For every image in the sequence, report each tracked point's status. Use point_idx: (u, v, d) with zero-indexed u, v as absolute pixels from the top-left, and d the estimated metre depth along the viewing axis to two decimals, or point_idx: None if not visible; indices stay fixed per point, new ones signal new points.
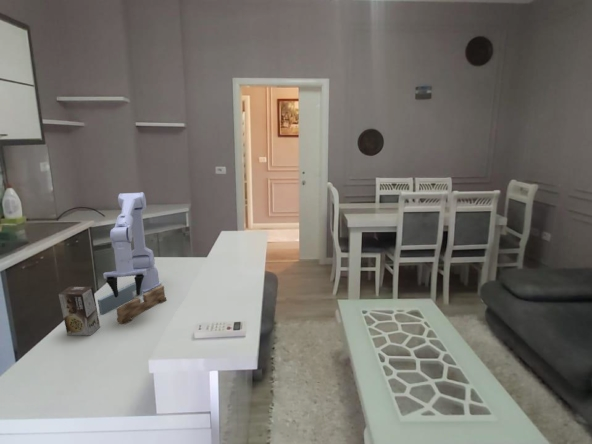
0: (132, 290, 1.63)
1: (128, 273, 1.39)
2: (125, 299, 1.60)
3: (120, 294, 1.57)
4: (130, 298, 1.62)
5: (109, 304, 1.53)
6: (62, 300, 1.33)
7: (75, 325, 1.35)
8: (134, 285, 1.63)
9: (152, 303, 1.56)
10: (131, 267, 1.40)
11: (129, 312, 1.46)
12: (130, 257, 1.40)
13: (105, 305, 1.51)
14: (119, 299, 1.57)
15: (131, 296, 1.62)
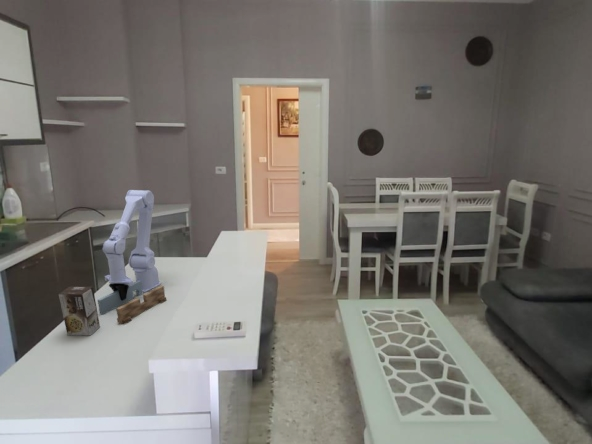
0: (132, 290, 1.63)
1: (116, 282, 1.54)
2: (125, 299, 1.60)
3: None
4: (130, 298, 1.62)
5: (109, 304, 1.53)
6: (62, 300, 1.33)
7: (75, 325, 1.35)
8: (134, 285, 1.63)
9: (152, 303, 1.56)
10: (120, 277, 1.54)
11: (129, 312, 1.46)
12: (120, 268, 1.54)
13: (105, 305, 1.51)
14: (119, 299, 1.57)
15: (131, 296, 1.62)
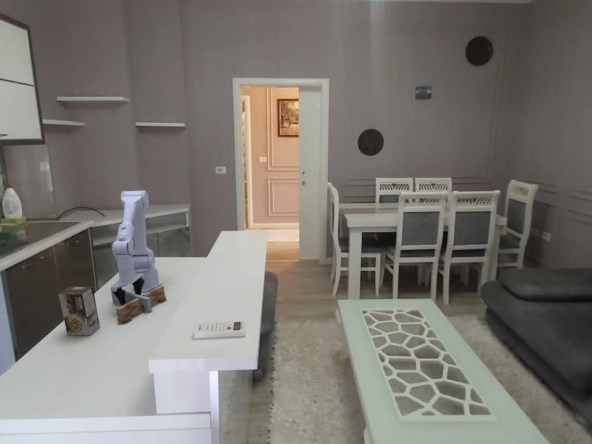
0: None
1: None
2: None
3: (127, 297, 1.54)
4: None
5: None
6: (62, 300, 1.33)
7: (75, 325, 1.35)
8: (140, 298, 1.51)
9: (152, 303, 1.56)
10: (119, 278, 1.51)
11: (129, 312, 1.46)
12: (131, 268, 1.50)
13: (115, 297, 1.58)
14: (126, 301, 1.55)
15: None
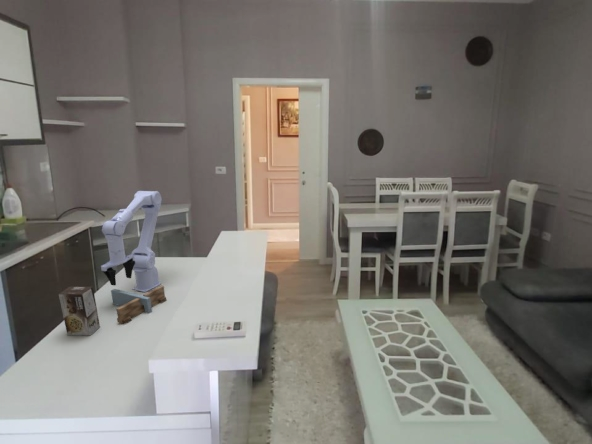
0: None
1: None
2: None
3: (127, 297, 1.54)
4: None
5: (118, 299, 1.57)
6: (62, 300, 1.33)
7: (75, 325, 1.35)
8: (140, 298, 1.51)
9: (152, 303, 1.56)
10: (110, 258, 1.53)
11: (129, 312, 1.46)
12: (120, 249, 1.52)
13: (115, 297, 1.58)
14: (126, 301, 1.55)
15: None
